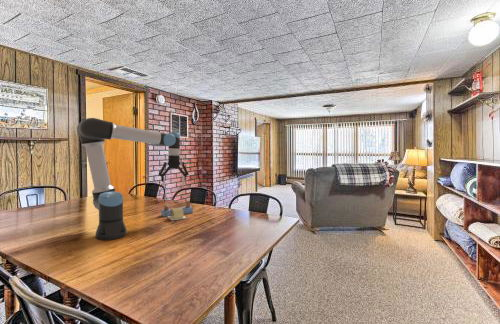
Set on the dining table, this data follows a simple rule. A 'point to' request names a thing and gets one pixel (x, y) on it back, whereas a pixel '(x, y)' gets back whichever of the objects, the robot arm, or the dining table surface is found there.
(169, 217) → the felt mat
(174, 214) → the lever cap
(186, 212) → the plane body
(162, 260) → the dining table surface
